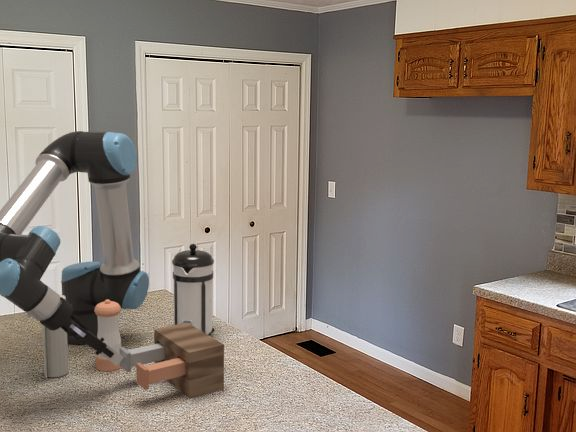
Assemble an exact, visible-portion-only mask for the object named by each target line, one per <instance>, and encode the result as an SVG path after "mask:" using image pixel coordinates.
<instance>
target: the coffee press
mask: <svg viewBox="0 0 576 432" xmlns="http://www.w3.org/2000/svg"><path fill="white" fill-rule="evenodd" d="M188 248H189V250H188V249H187V250H183V251H180V252H177V253H176V255H174V258H173V259H172V261H171V263H172V265H173V267H172V268H173V271H172V279H173V325H177V324H181V323H182V321H184V320H191V321H192V324H191V325H192V326H194V327H196V328H197V329H199V330H201V331H202V332H204V333H206V334H207V335H209V334H210V333H211V334H213V333H214V332H215V328H214V326H213V297H214V296H213V294H214V293H213V289H214V288H213V286H214V285H213V281H214V280H213V279H214V269H213V268H214V267H213V266H214V263H215V259H214V258H213V257H212V255H211V254H210V253H209V252H207V251H205V250H199V249H197V248H198V246H197V244H195V243H191V244H190V245H189V247H188Z"/></svg>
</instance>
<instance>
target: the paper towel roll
mask: <svg viewBox="0 0 576 432" xmlns="http://www.w3.org/2000/svg"><path fill="white" fill-rule="evenodd" d="M59 296H60V297H62V298H64V299H65V300H66V297H65V296H64V295H62V294H59ZM41 327H42V347H43V348H42V349H43V350H42V351H43V372H44V377H45V378H46V379H45V380H46V381H48V378H60V377H63V376H66V375H67V374H68V373H69V350H68V343H67V333H66V332H65V331H64V330H63V329H62V328H61V327H60V328H59V329H57V330H54V331H52V330H49V329H48V328H46V327H45V326H44V325H42V324H41Z"/></svg>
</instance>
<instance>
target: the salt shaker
mask: <svg viewBox="0 0 576 432" xmlns="http://www.w3.org/2000/svg"><path fill="white" fill-rule="evenodd" d="M121 310H122V309H121V307H120V305H119V304H118V303H116V302H113V301H110V300H105V301H104V302H101V303H99V304H97V305H96V307H95V310H94V311H95V314H96V315H97V316H98V333H97V337H98V339H101V338H103V339H105V340H104V341H103V342H104V343H106V344H107V345H108V346H110V347H111V348H112V349H114V350H115V351H116V352H118V353H119V354H120V351H119V348H120V347H122V338H121V335H120V334H121V333H120V330H119V329H120V328H119V314H121ZM94 357H95V358H94V359H95V369H96V370H97V371H101V372H113V371H118V370H119V369H122V367H121V366H120V363H119V364H118V365H117V366H116V365H115V364H113V363H112V362H111V361H109V360H108V359H107V358H105V357H104V356H103V355H101V354H100V353H99V355H97V354H95V356H94Z"/></svg>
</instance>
